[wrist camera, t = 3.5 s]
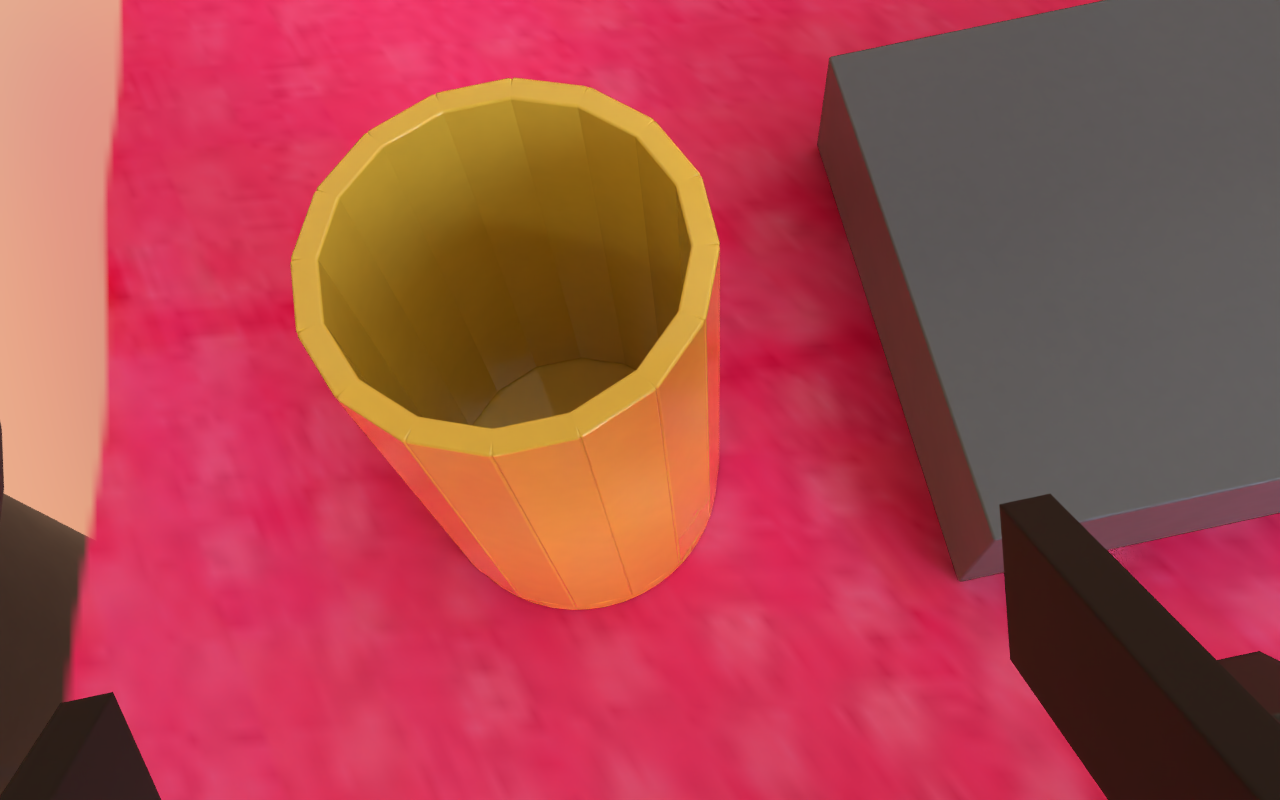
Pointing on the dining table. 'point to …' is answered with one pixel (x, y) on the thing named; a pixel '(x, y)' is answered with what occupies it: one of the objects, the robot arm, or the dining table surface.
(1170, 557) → the dining table surface
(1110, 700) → the robot arm
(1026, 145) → the grey block
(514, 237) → the yellow cup
